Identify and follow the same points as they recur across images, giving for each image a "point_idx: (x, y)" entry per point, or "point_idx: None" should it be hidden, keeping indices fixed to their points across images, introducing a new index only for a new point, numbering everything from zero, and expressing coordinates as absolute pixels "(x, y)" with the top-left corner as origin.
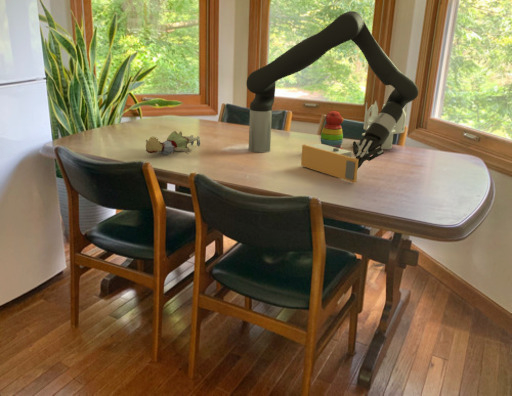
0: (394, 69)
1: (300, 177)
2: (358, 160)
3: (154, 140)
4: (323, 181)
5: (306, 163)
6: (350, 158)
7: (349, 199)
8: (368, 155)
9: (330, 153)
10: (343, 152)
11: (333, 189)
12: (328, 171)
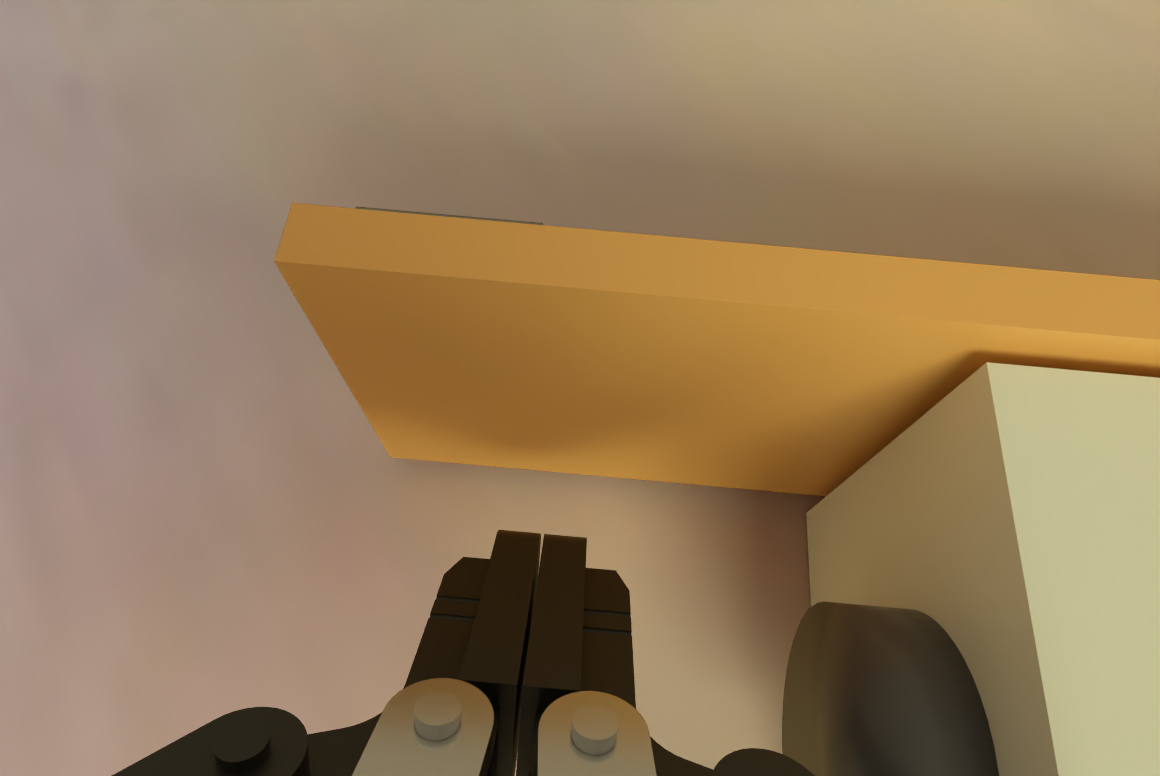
0: None
1: (975, 171)
2: (283, 275)
3: None
4: (720, 239)
5: None
6: (478, 226)
7: (184, 16)
8: (177, 758)
9: (1095, 286)
10: (1113, 710)
11: (460, 116)
12: None
